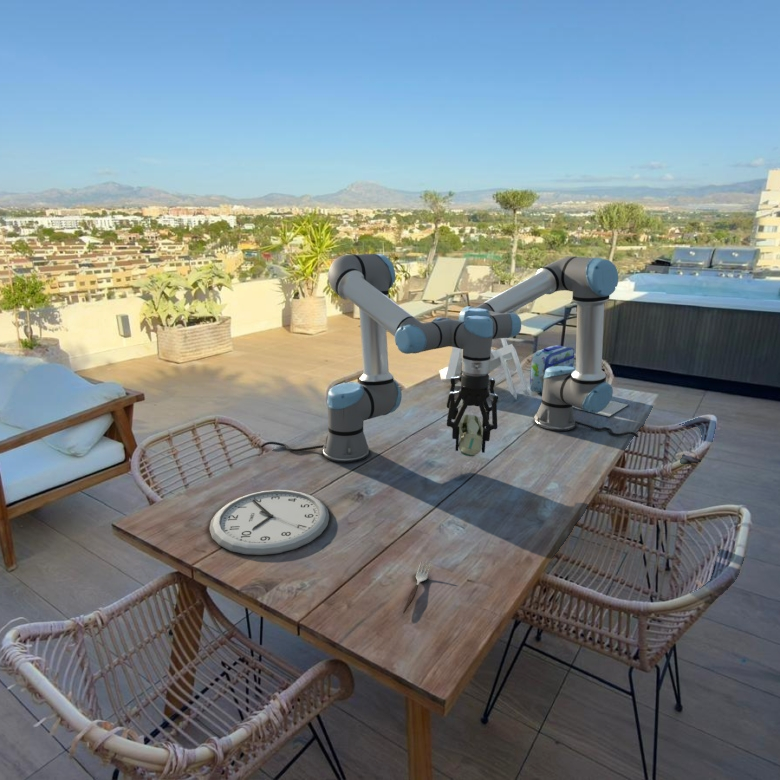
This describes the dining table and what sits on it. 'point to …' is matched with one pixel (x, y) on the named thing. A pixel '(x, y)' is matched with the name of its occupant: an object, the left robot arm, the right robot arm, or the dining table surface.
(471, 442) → the ballet flat
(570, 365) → the lunch box
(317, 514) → the wall clock
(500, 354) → the white plastic object
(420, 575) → the fork
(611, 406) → the invitation card
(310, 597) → the dining table surface
